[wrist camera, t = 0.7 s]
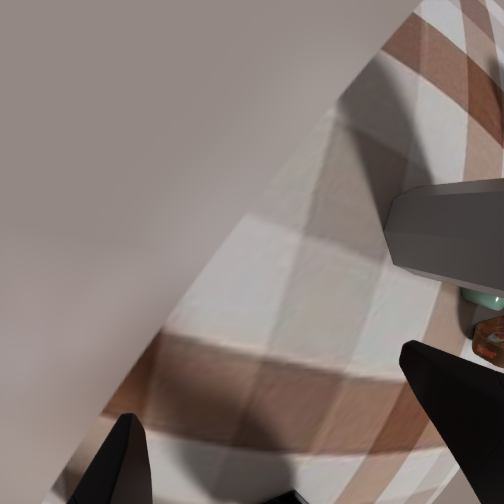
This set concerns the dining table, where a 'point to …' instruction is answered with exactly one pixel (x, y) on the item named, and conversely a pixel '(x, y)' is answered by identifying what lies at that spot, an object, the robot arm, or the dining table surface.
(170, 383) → the dining table surface
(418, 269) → the grey domed canister
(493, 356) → the tin
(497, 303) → the pale green rounded part
